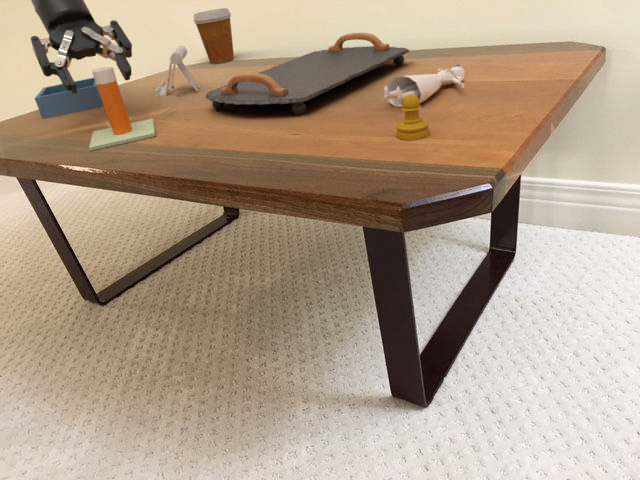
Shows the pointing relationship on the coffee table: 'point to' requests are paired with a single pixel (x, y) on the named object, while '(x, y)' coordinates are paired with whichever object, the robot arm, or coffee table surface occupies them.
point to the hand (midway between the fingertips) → (102, 83)
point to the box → (68, 98)
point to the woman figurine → (421, 84)
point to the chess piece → (412, 120)
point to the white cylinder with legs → (175, 59)
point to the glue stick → (112, 100)
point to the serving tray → (307, 75)
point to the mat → (122, 135)
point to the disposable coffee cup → (216, 34)
